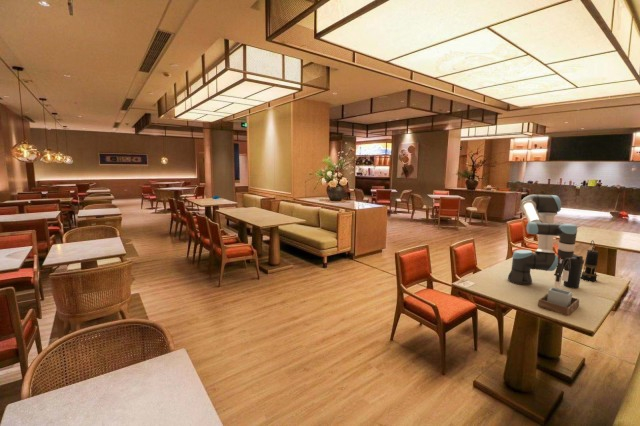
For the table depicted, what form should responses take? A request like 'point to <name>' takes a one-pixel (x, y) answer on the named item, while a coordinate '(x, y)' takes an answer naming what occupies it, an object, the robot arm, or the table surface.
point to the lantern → (590, 265)
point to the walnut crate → (558, 308)
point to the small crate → (559, 297)
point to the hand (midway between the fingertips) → (561, 283)
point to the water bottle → (574, 272)
